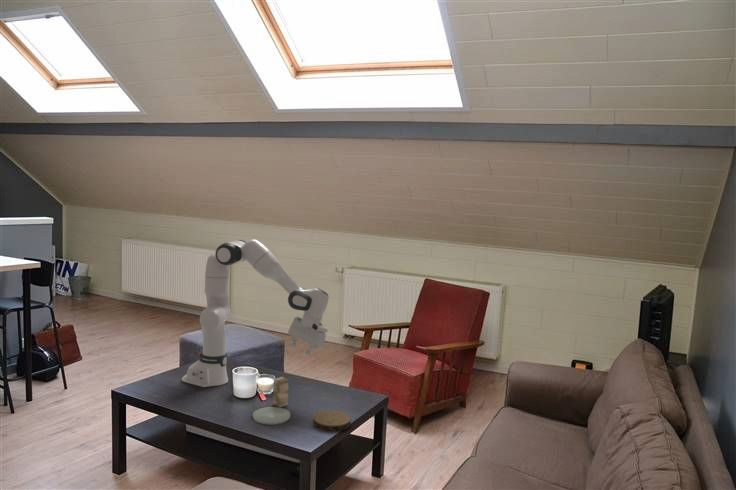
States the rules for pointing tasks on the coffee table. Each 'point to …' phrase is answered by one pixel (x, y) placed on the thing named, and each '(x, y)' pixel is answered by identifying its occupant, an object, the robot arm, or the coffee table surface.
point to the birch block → (281, 392)
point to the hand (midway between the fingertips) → (300, 350)
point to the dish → (271, 415)
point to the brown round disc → (331, 420)
